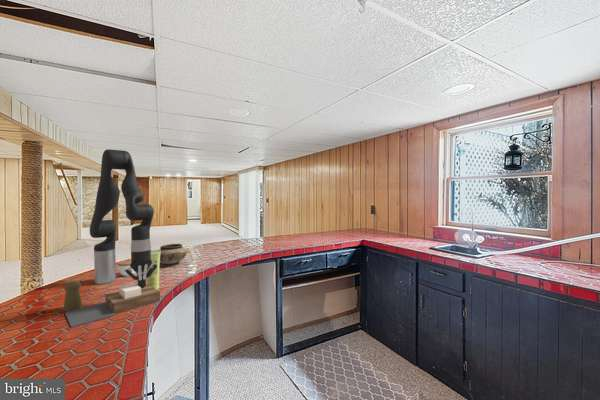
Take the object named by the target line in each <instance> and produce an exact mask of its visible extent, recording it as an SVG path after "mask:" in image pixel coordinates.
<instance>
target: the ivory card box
mask: <svg viewBox="0 0 600 400" xmlns="http://www.w3.org/2000/svg"><path fill="white" fill-rule="evenodd" d="M118 292H119V294H120V295H121V296H122V297H123V298H124V299H127V298H131V297H135V296H139V295H141V287H139V286H138V283H134V282H133V283H129V284H125V285H120V286H118Z"/></svg>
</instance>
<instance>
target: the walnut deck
mask: <svg viewBox="0 0 600 400" xmlns="http://www.w3.org/2000/svg"><path fill="white" fill-rule="evenodd" d="M104 295H105V297H104V298H105V303H106V304H107V305H108V307H109V308H110V309H111V310H112V311H113V312H114V314H115V315H116V314H120V313H123V312H126V311H129V310H134V309H137V308H140V307H144V306H147V305H150V304H154V303H157V302H160V301H161V292H160V291H159V289H157V290H156V289H155V288H153V287H152V286H150V285H147V284H146V286H145V287H144V288H141V295H139V296H135V297H131V298H127V299H124V298H123V297H122V296H121V295H120V294H119V291H116V292H112V293H111V292H110V293H108V294H104Z"/></svg>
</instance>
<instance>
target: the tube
mask: <svg viewBox="0 0 600 400" xmlns="http://www.w3.org/2000/svg"><path fill="white" fill-rule="evenodd" d="M153 250H154V251H153ZM153 250H151V261H152V263H153V264H156V265H157V267H156V269H155V270H154V272H153V273H152V274H151V276H150V277H148V278H146V285H150V286H152V287H153V288H155V289H156V290H159V289H160V263H161V262H160V253H161V250H156V249H153ZM149 269H150V267H149ZM149 269H148V270H147V272H148V271H149Z"/></svg>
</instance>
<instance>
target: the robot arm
mask: <svg viewBox="0 0 600 400" xmlns="http://www.w3.org/2000/svg"><path fill="white" fill-rule="evenodd" d="M112 170H120V171H121V170H124V171H125V176H124V178H123V181H122V182H121V186H120V189H121V190H120V189H119V186H118V185H117V183H116V182H115V180H114V178H113V176H112ZM121 193H122V195H123V198H124V200H125V217H126V218H127V219H128V221H132V222H133V221H137V222H138V221H141V222H140V224H138V225H135V226H134V225H133V227H131V229H130V233H131V234H130V235H131V236H130V237H131V241H130V260H131V264H130V267H129V268H128V269H125V272H126V273H127V274H128V275H129V276H128V277H130V278H132V279H133V280H134V281H137V285H138V286H139V287H141V288H144V287H145V286H146V285H147V278H148V277H150V276H151V274H152V273H153V272H154V270H155V269H156V267H157V265H156V264H153V263H152V261H151V251H152V245H151V238H150V237H151V236H150V235H151V234H150V231H151V230H150V229H151V226H152V225H151V224H152V222H153V218H154V214H155V210H154V207H153V206H152V205H151V204H148V203H147V204H146V203H144V204H142V202H143V200H144V195H143V193H142V191H141V188H140V186H139V183H138V180H137V176H136V169H135V165H134V161H133V158H132V155H131V153H130V152H129V151H126V150H121V149H110V148H109V149H108V148H107V149H105V150H104V151H103V153H102V156H101V168H100V177H99V182H98V188H97V193H96V196H95V197H96V199H95V205H94V210H93V215H92V218H91V222H90V225H89V235H90V237H91V238H93V239H101V238H105V239H104V240H103V241H101V242H99V243H96V244H95V245H94V246H93V261H94V269H93V270H94V271H93V272H94V284H97V285H102V284H109V283H113V282H115V281H116V280H117V279H116V278H117V275H116V274H117V270H116V269H117V268H116V265H117V264H116V262H117V261H116V237H117V236H116V235H117V234H116V233H117V227H116V222H115V220H114V219H104V218H105V217H106V215H108V214H109V213H110V212H111V211H112V210H113V209H114V208H115V207H116V206H118V204H119V200H120V195H121ZM140 203H141V204H140ZM149 267H150V269H149ZM132 269H133V270H134V271H135V272H136V273H135V274H132V273H131V272H132ZM148 269H149V271H148V272H147V270H148Z"/></svg>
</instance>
